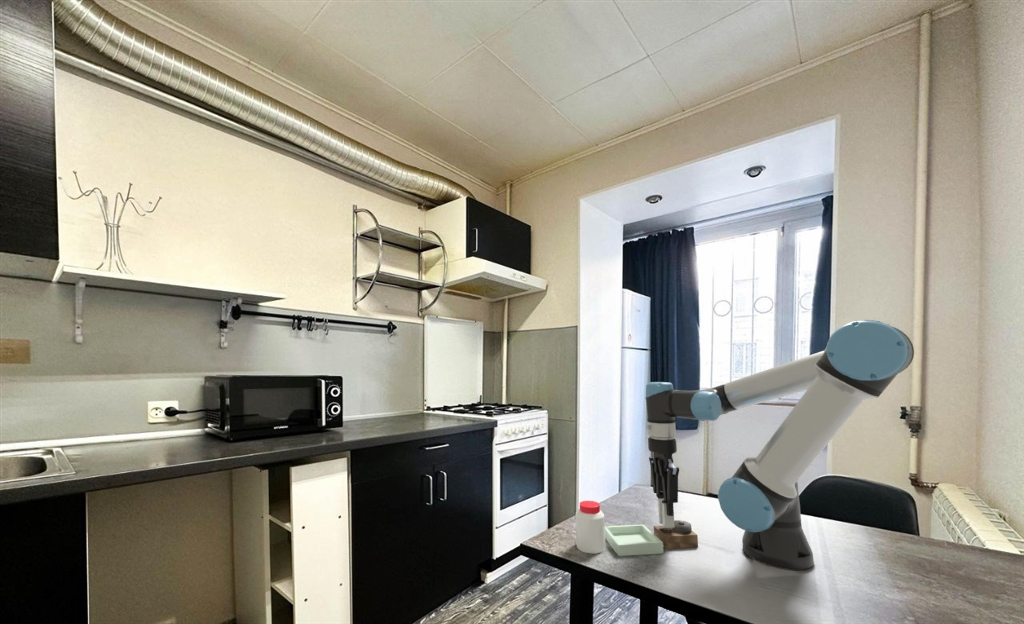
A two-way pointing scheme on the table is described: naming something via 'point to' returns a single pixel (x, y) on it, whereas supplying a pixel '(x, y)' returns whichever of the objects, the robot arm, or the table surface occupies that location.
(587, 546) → the pill bottle
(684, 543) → the brown and grey block
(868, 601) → the table surface
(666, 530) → the clear translucent rod
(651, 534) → the tray
